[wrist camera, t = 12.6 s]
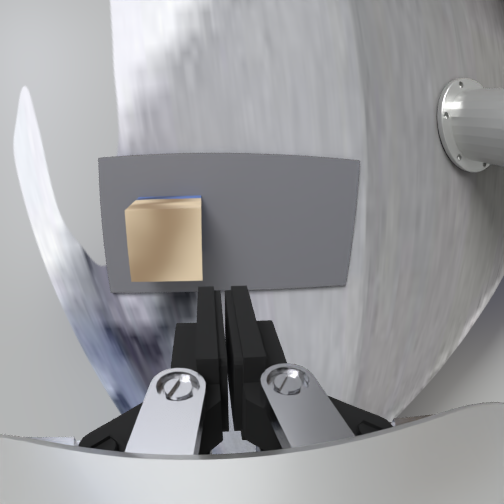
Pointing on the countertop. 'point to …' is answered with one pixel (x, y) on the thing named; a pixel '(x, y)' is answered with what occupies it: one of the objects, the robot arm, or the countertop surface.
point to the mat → (240, 217)
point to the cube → (164, 238)
